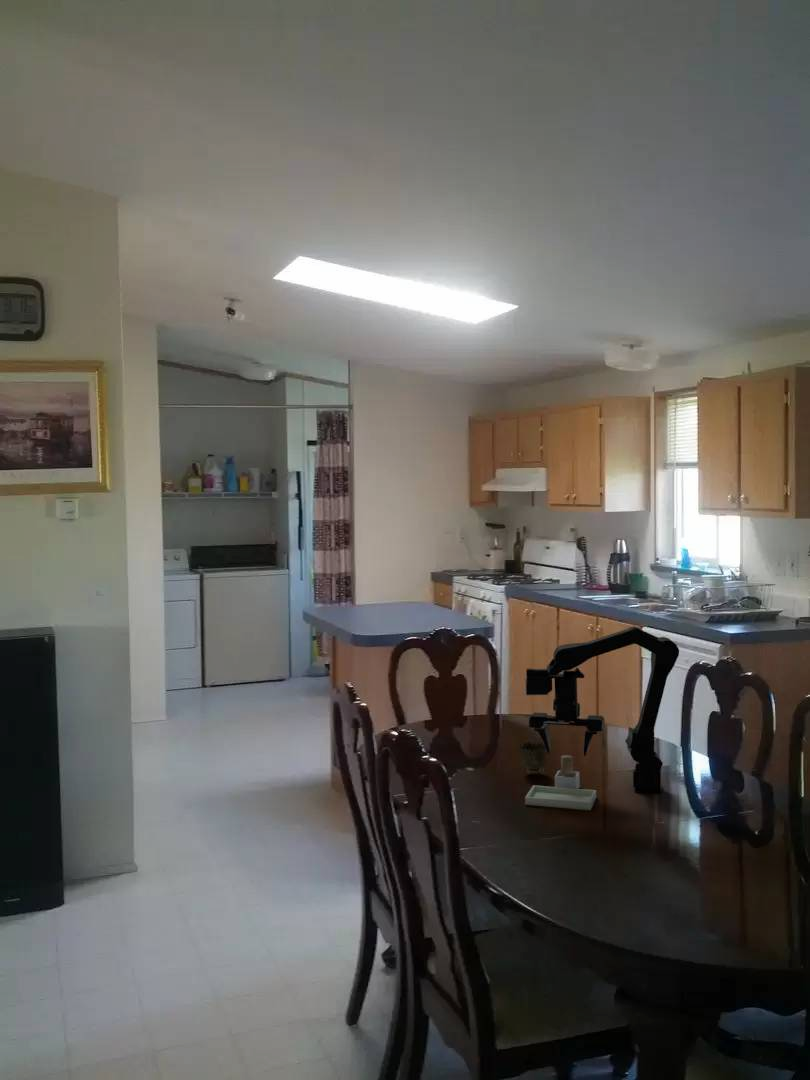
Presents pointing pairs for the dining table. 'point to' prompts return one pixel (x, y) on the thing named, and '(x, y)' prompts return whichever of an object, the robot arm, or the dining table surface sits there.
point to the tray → (561, 797)
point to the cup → (533, 757)
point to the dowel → (567, 766)
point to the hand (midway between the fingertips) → (567, 754)
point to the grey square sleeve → (567, 780)
